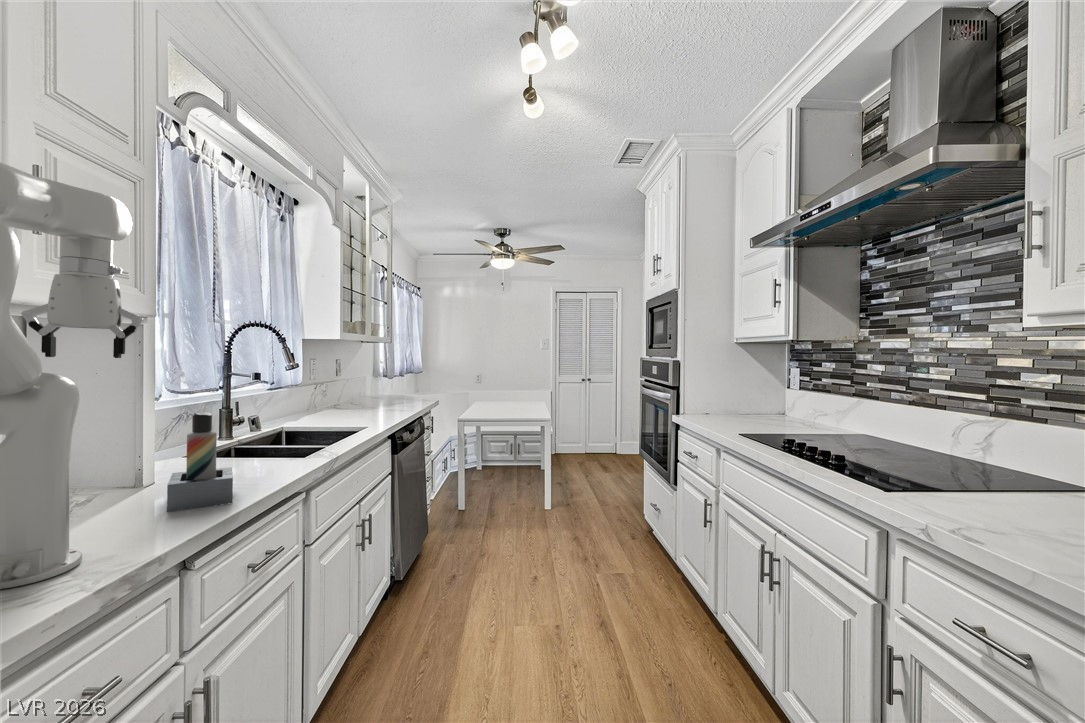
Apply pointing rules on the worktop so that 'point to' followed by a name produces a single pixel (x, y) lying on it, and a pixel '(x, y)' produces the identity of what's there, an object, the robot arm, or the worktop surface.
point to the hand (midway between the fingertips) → (84, 357)
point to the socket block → (199, 490)
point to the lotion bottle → (201, 448)
